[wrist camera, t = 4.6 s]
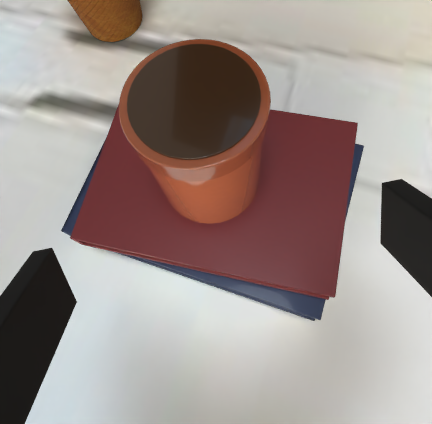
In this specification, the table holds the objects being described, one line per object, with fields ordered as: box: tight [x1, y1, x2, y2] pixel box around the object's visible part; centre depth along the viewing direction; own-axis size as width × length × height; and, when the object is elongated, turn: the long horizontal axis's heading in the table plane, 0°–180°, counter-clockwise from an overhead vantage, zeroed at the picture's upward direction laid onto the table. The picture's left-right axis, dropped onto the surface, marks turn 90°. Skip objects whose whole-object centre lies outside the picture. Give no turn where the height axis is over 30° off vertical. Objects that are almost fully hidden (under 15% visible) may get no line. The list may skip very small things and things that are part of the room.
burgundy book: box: [70, 105, 358, 300], centre depth 29 cm, size 20×14×2 cm
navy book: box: [61, 140, 364, 321], centre depth 31 cm, size 22×15×3 cm
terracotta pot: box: [119, 39, 271, 224], centre depth 23 cm, size 8×8×10 cm
